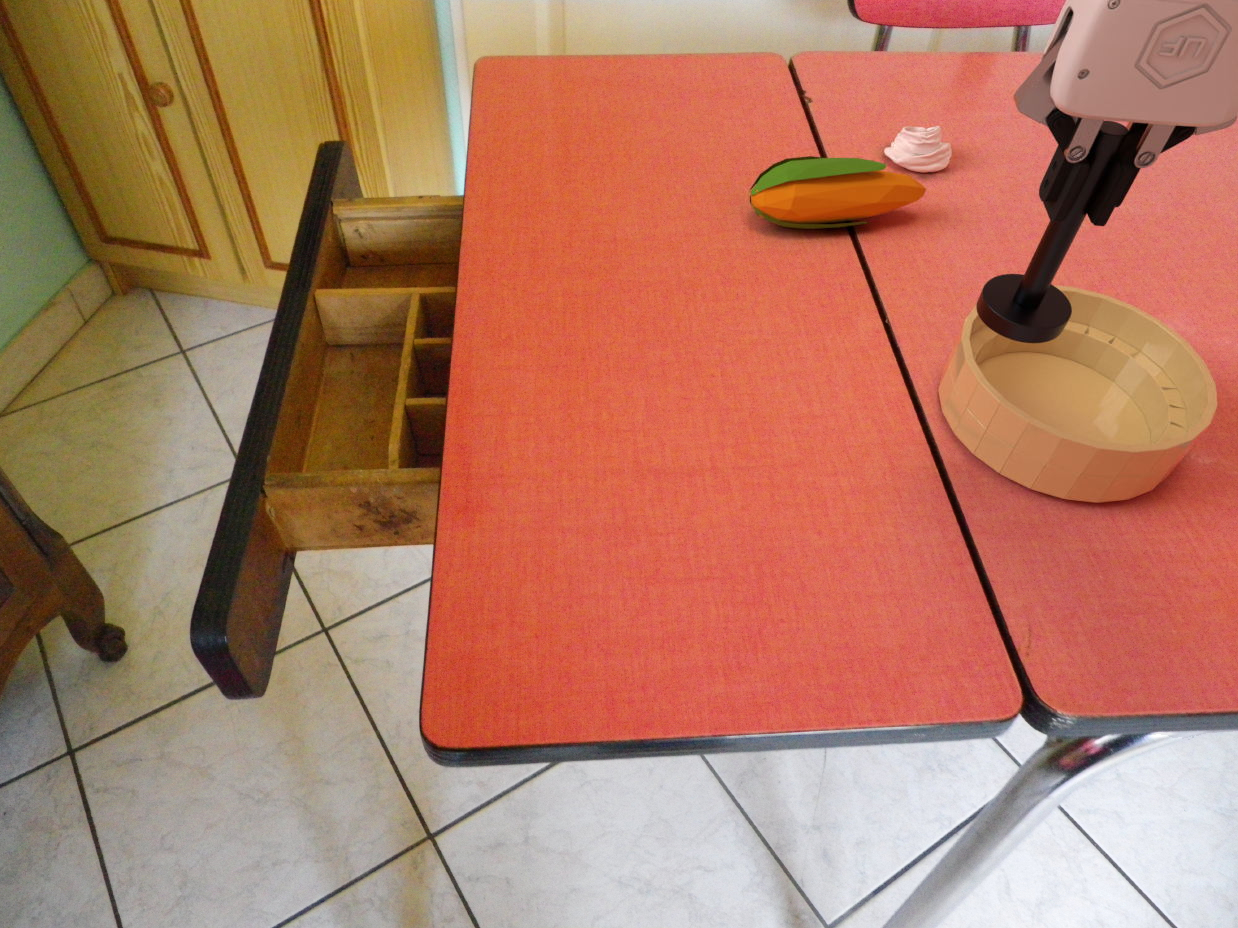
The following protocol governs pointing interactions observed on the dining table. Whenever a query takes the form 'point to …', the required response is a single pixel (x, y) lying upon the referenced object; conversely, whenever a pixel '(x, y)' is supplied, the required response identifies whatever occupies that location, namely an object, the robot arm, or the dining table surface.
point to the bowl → (1080, 401)
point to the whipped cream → (920, 149)
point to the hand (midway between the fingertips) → (1072, 210)
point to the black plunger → (1048, 261)
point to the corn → (829, 191)
